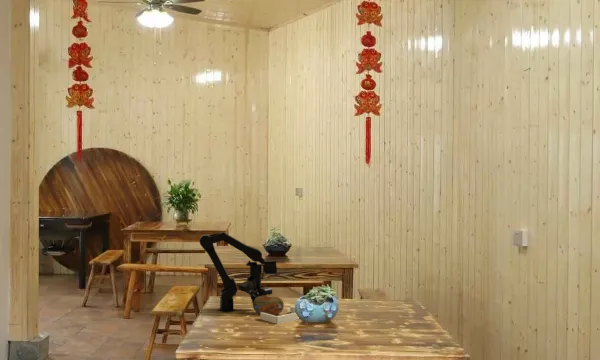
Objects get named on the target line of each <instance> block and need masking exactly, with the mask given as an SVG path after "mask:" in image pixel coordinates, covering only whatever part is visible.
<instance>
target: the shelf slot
mask: <svg viewBox="0 0 600 360" xmlns="http://www.w3.org/2000/svg"><path fill="white" fill-rule="evenodd" d="M295 307H296V306H293V305H290V306H289V313H287V314H284V315H279V316H277V315H271V314H267V313H263V312H261V313H260V318H259V319H260V320H262V321H266V322H269V323H273V324H276V325H279V324H283V323H287V322H293V321H296V319H297V320H300V319H299V317H298V316H297V314H296V313H295ZM290 312H291V313H290Z"/></svg>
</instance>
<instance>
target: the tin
mask: <svg viewBox="0 0 600 360" xmlns="http://www.w3.org/2000/svg"><path fill="white" fill-rule="evenodd" d="M252 307H253V310H254V311H255V313H257V314H260V313H261V312H263V313H267V314H270V315H274V316H277V315H279V314H280V313H282V312H283V310H284V307H285V303H284V301H283V300H282V298H281V297H279V296H271V295H269V296H268V295H262V296H258V297H256V298H255V299H254V301H253V303H252Z"/></svg>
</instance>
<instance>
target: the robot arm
mask: <svg viewBox="0 0 600 360" xmlns="http://www.w3.org/2000/svg"><path fill="white" fill-rule="evenodd" d="M220 242H225V243H226V244H228V245H230V246H231V247H233V248H235V249H237V250H238V251H240V252H242V253H244V254H245V256H246V257H248V258H249V259H250V260H248V262H246V263H245V265H246V267H249V276H247V278H246V281H244V282H242V283H240V284H239V285H238V283H237V282H236V280H235V277H234V276H232V277H231V276H230V275H229V273H228V271H227V270H226V268H225V266H224V265H223V262H222V260H221V258H220V257H219V255H218V253H217V251H216V249H215V245H214V244H217V243H220ZM199 245H200V246H201V248H202V249H203V250H204V251H205V252H206V254H207V255H208V256H209V258H210V260H211V261H212V264H213V266H214V268H215V269H216V271H217V273H218V275H219V277H220V279H221V282H222V285H223V288H222V290H221V291H220V297H219V308H217V311H219V312H223V313H228V312H234V311H237V310H236V308H234V296H235V295H236V294H237V292H238V290H239V291H241V292H244V293H246V294H247V295H249V296H250V300H251V303H252V304H253V301H254V299H255V298H256V297H258V296H268V295H269V296H270V295H272V294H273V289H272V288H271V287H268V286H265V287H264V285H263V284H262V280H264V276H262V273H264V275H266V276H267V275H268V276H269V275H272V276H273V275H277V273H278V267H277V260H265V258H263V253H262V251H261V250H260V249H259V248H257V247H254V246H251V245H247V244H245V243H243V242H242V241H240V240H238V239H237V238H235V237H233V236H231V235H229V234H228V233H227V232H225V231H221V232H218V233H217V232H216V233H212V234H207V233H206V234H205V233H204V234H202V235H201V236H200V237H199Z"/></svg>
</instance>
